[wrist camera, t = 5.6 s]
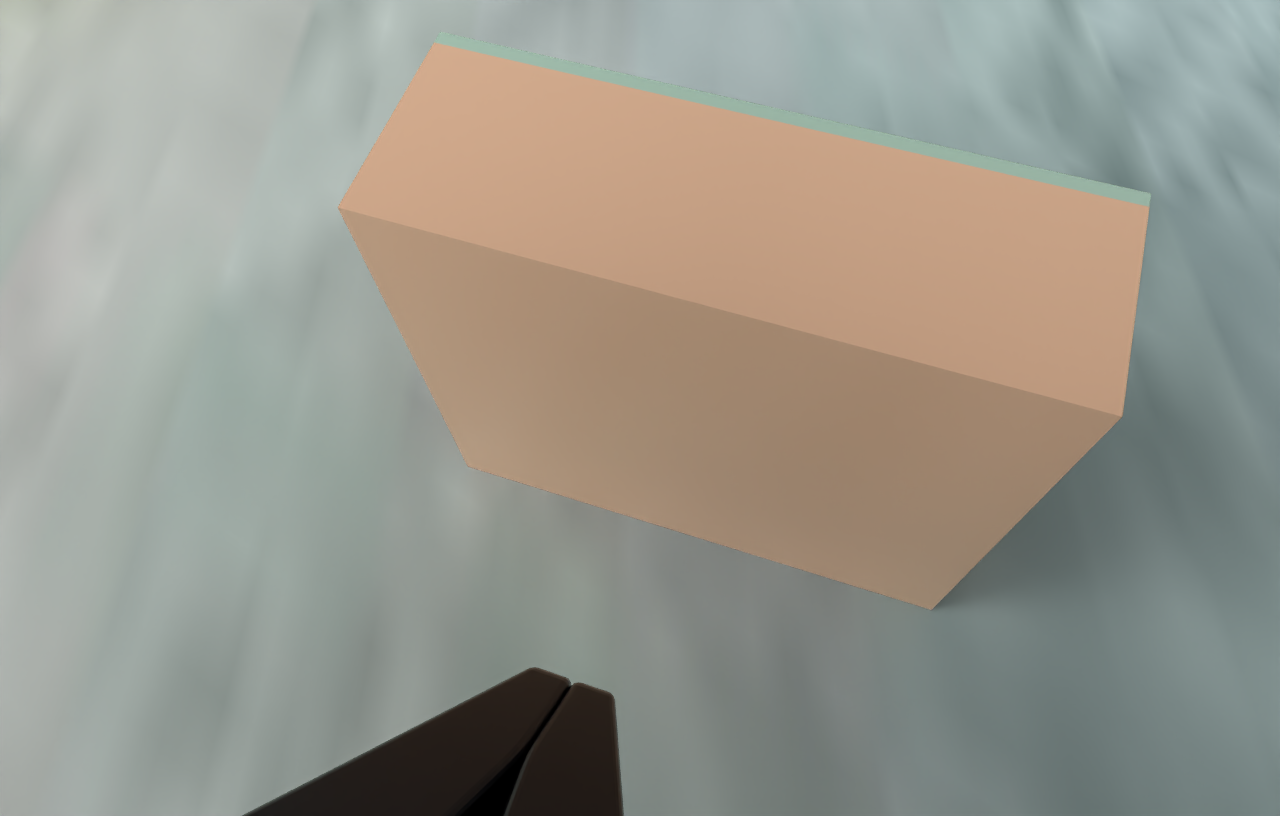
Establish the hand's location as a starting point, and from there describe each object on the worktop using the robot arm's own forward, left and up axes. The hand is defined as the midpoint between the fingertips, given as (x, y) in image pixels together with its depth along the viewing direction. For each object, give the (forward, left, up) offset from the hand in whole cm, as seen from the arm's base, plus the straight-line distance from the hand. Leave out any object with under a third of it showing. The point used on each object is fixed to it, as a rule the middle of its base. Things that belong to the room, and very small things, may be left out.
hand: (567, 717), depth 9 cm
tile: (+3, +5, -8) cm, 10 cm away
